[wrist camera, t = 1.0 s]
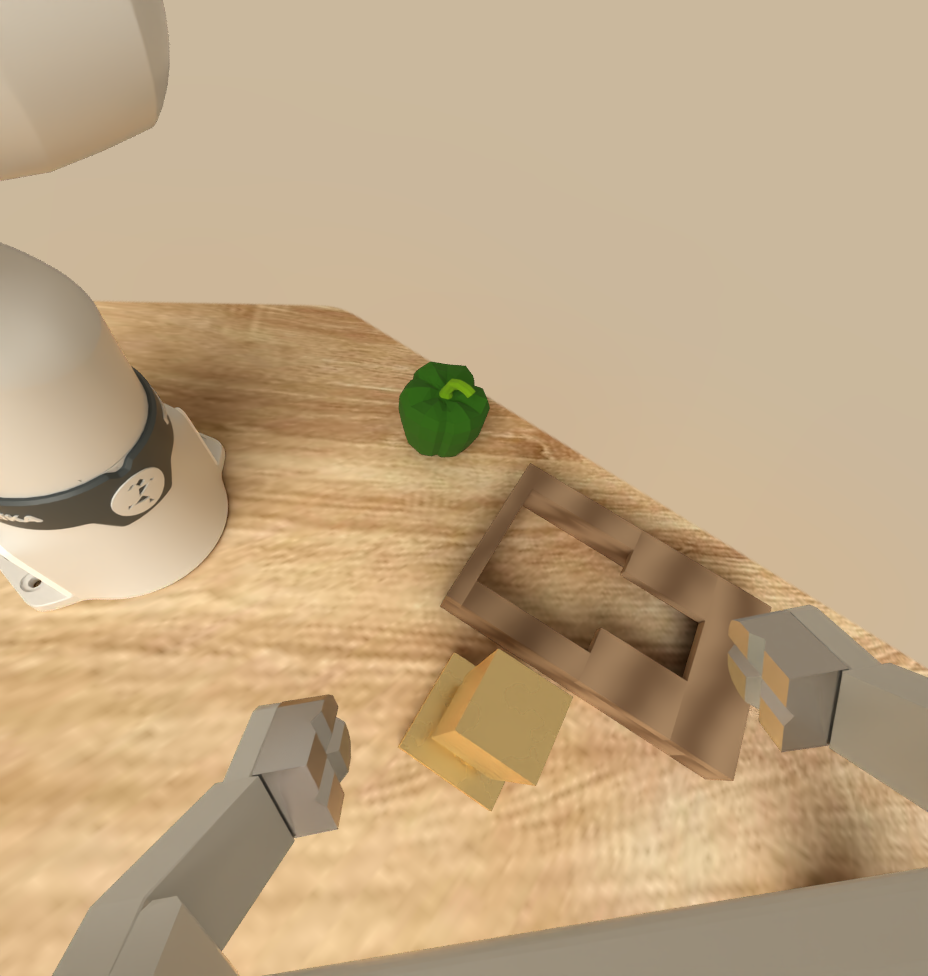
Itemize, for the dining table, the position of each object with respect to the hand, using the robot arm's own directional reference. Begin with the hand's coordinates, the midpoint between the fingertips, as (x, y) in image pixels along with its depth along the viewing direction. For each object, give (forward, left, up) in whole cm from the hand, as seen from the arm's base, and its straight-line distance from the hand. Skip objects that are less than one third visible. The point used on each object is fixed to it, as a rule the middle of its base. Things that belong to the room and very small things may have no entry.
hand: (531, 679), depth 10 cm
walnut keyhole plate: (+10, +18, -32) cm, 38 cm away
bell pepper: (-13, +25, -32) cm, 43 cm away
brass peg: (+4, +3, -32) cm, 32 cm away
